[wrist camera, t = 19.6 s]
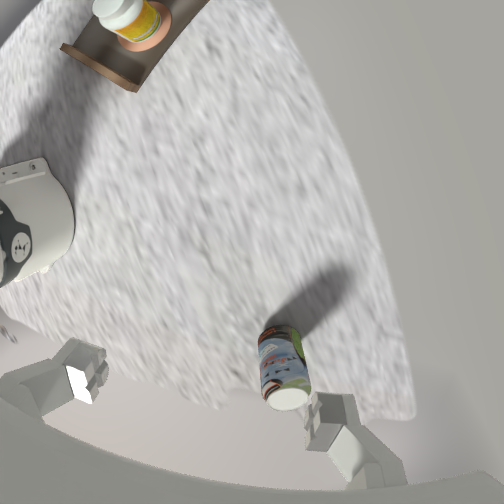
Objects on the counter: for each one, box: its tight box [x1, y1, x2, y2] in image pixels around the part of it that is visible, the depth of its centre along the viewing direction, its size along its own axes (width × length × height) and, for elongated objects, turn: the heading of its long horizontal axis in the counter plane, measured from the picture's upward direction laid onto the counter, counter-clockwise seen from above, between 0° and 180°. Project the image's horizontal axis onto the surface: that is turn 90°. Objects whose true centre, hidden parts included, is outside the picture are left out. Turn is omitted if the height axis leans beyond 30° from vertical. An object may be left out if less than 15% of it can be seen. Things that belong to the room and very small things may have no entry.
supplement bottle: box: [92, 0, 161, 43], centre depth 25 cm, size 5×5×10 cm
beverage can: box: [258, 325, 311, 412], centre depth 39 cm, size 6×7×12 cm
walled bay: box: [60, 0, 209, 93], centre depth 29 cm, size 14×16×3 cm
